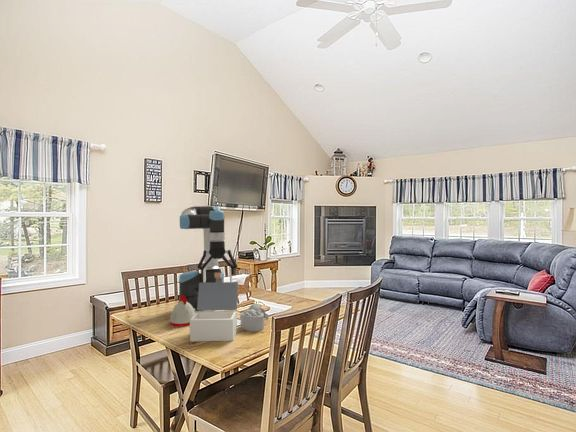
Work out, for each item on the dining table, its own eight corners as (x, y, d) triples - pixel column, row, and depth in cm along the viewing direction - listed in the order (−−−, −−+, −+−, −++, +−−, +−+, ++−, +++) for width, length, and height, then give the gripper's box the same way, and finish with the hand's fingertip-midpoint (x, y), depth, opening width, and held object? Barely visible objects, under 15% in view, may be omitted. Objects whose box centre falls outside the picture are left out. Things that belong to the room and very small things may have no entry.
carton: (197, 330, 175) (197, 311, 175) (237, 330, 176) (236, 310, 175) (190, 341, 161) (189, 320, 161) (233, 340, 162) (232, 319, 161)
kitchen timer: (175, 328, 179) (175, 299, 179) (166, 322, 190) (165, 295, 190) (200, 322, 188) (200, 295, 188) (190, 317, 199) (189, 291, 198)
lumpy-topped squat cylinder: (254, 322, 188) (254, 306, 188) (268, 328, 178) (268, 311, 178) (238, 326, 181) (237, 310, 181) (252, 333, 171) (252, 315, 171)
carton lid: (194, 308, 170) (197, 310, 175) (235, 308, 171) (236, 309, 176) (197, 272, 178) (200, 275, 183) (236, 272, 178) (238, 275, 183)
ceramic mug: (254, 322, 188) (254, 308, 188) (247, 318, 195) (248, 304, 195) (271, 319, 193) (271, 305, 193) (264, 315, 200) (264, 302, 200)
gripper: (190, 241, 174) (191, 283, 174) (240, 241, 175) (241, 282, 175) (194, 240, 182) (195, 280, 182) (242, 239, 182) (242, 279, 182)
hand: (217, 281), depth 178 cm, fingers open, 13 cm apart
